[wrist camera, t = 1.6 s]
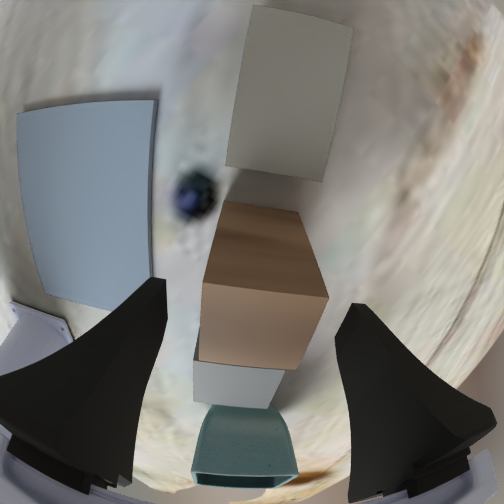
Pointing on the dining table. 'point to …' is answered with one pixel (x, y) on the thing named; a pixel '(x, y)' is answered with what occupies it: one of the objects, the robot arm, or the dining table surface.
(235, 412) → the flower pot
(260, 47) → the pale grey block
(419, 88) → the dining table surface
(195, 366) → the grey cube
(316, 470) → the dining table surface
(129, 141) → the slate mat
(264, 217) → the tall walnut block
